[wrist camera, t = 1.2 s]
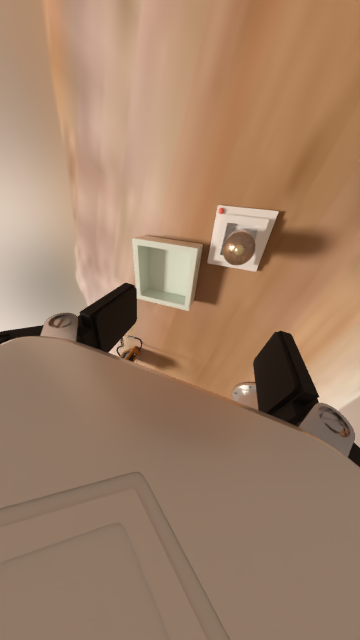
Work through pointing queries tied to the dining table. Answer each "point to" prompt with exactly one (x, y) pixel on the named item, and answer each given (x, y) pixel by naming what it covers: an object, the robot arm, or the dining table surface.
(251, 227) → the checker cradle
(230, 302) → the dining table surface
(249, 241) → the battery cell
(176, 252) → the white open box
